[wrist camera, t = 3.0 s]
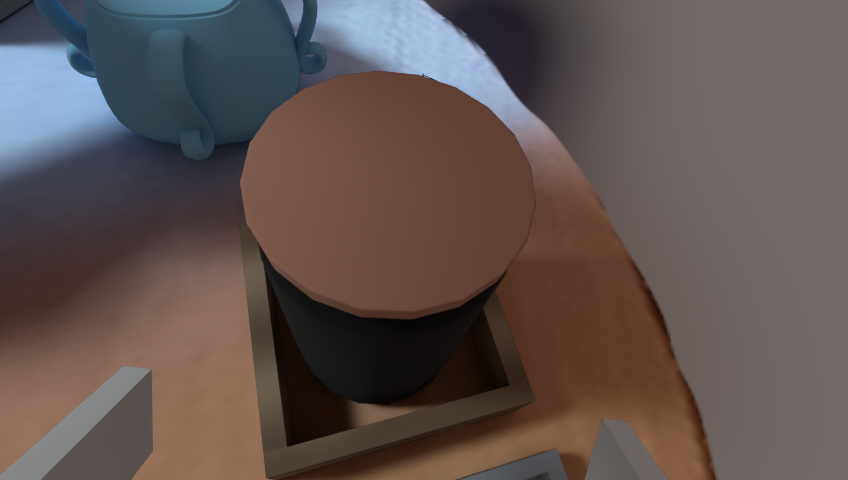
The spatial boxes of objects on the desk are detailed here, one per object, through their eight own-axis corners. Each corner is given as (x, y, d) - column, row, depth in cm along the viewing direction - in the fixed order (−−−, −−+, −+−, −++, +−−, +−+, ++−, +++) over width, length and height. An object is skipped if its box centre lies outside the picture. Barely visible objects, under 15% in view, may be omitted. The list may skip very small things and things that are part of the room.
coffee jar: (460, 275, 35) (542, 99, 19) (440, 422, 30) (530, 344, 14) (323, 247, 35) (293, 45, 19) (277, 390, 29) (185, 274, 14)
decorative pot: (77, 87, 39) (-47, -88, 27) (235, 12, 46) (191, -154, 34) (192, 204, 35) (106, 59, 23) (347, 103, 42) (342, -49, 30)
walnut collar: (251, 252, 34) (239, 225, 30) (448, 217, 37) (457, 189, 34) (278, 480, 27) (266, 478, 23) (515, 410, 31) (535, 400, 27)
